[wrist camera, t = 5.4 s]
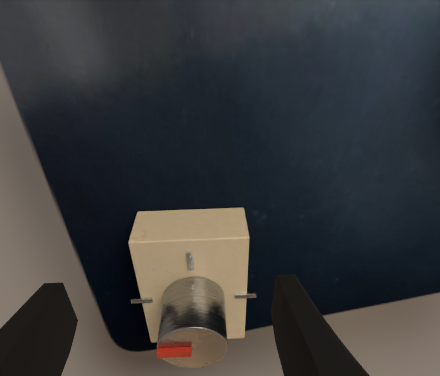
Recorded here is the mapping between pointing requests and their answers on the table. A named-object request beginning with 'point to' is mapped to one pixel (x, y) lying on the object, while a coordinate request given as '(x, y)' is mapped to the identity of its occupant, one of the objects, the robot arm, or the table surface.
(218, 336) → the dial
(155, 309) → the beige rotary knob box
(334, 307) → the table surface
